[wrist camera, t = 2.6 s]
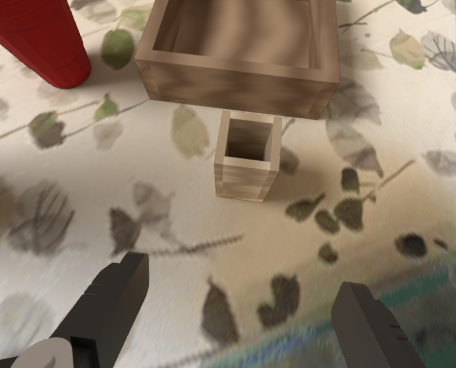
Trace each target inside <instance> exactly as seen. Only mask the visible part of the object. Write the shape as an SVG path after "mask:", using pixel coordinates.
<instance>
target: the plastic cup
mask: <svg viewBox="0 0 456 368" xmlns="http://www.w3.org/2000/svg"><path fill="white" fill-rule="evenodd" d="M0 44H1V45H2V46H3V47H4V48H5V49H7V50H8V51H9V52H10V53H11V54H13V55H14V56H15V57H16V58H17V59H19V60H20V61H21V62H22V63H23V64H25V65H26V66H27V67H28V68H30V69H32V70H33V71H34V72H35V73H37V74H38V75H39V76H40V77H41V78H43V79H44V80H45V81H46V82H48V83H49V84H51V85H52V86H54V87H58V88H72V87H74V86H77V85H80V84H81V83H82V82H84V81H85V80H86V79H87V78H88V76H89V75H90V73H91V65H90V61H89V58H88V56H87V53H86V51H85V48H84V46H83V41H82V38H81V36H80V33H79V30H78V28H77V25H76V23H75V20H74V17H73V15H72V12H71V10H70V7H69V5H68V2H67V0H0Z"/></svg>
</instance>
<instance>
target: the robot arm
mask: <svg viewBox="0 0 456 368" xmlns="http://www.w3.org/2000/svg"><path fill="white" fill-rule="evenodd" d="M148 287H149V258H148V254H145V253H138V252H131V251H129V252H127V254H126V255H125V256H124V258H123V259H122V261H121V262H120V264H119V263H111V264H110V265H108V266H107V267H106V268H104V269H103V270H101V271H100V272H99V274H98V275H97V276H96V278H95V279H94V280H93V281H92V284H91V285H89V287H88V288H87V289H86V291H85V292H84V295H82V296H81V297H80V299H79V300H78V301H77V302H76V304H75V305H74V306H73V308H72V309H71V310H70V312H69V313H68V314H67V316H66V317H65V318H64V320H63V321H62V322H61V323H60V325H59V326H58V327H57V329H56V330H55V331H54V333H53V334H52V335H51V336H50V337H49V338H48V339H45V340H42V341H40V342H37V343H36V344H34V345H32V346H31V347H29V348H28V349H26V350H25V351H24V352H23V353H22V354H21V355H20V356H16V357H12V358H7V359H2V360H0V368H113V366H114V364H115V362H116V360H117V358H118V355H119V353H120V351H121V349H122V347H123V345H124V342H125V340H126V338H127V336H128V334H129V332H130V329H131V327H132V325H133V323H134V321H135V319H136V317H137V314H138V312H139V310H140V308H141V306H142V304H143V301H144V299H145V297H146V294H147V291H148ZM331 318H332V324H333V327H334V330H335V332H336V335H337V338H338V341H339V344H340V347H341V349H342V352H343V355H344V358H345V361H346V364H347V367H348V368H426V367H425V365H424V364H423V362H422V361H421V359H420V357H419V356H418V354H417V352H416V351H415V349H414V348H413V346H412V344H411V343H410V342H408V338H407V336H406V335H405V333H404V332H403V330H402V329H400V325H399V324H398V322H397V320H396V319H395V317H394V315H393V314H392V312H391V311H390V310H389V309H388V308H387V307H385V306H384V305H383V304H382V303H381V302H380V301H379V300H375V299H374V298H373V296H372V294H371V292H370V291H369V289H368V287H367V286H366V285H365V284H359V283H352V282H343V283H342V285H341V287H340V289H339V292H338V294H337V297H336V299H335V302H334V304H333V307H332V311H331Z"/></svg>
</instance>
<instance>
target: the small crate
mask: <svg viewBox="0 0 456 368" xmlns="http://www.w3.org/2000/svg"><path fill="white" fill-rule="evenodd" d="M281 126H282V117H274V116H266V115H258V114H249V113H241V112H233V111H225V110H223V112H222V118H221V124H220V130H219V136H218V142H217V148H216V154H215V161H214V171H215V188H216V196H219V197H226V198H234V199H242V200H249V201H257V202H263V200H264V198H265V196H266V194H267V193H268V191H269V189H270V187H271V185H272V183H273V182H274V180H275V178H276V176H277V174H278V173H279V163H280V145H281Z"/></svg>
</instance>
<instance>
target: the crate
mask: <svg viewBox="0 0 456 368" xmlns="http://www.w3.org/2000/svg"><path fill="white" fill-rule="evenodd" d="M134 60H135V63H136V65H137V68H138V70H139V73H140V75H141V78H142V80H143V83H144V85H145V88H146V90H147V93H148V95H149V98H150V99H152V100H160V101H168V102H176V103H184V104H193V105H201V106H209V107H217V108H225V109H233V110H241V111H250V112H258V113H266V114H274V115H282V116H290V117H299V118H307V119H315V120H318V118H319V117H320V115H321V113H322V112H323V110H324V108H325V107H326V105H327V104H328V102H329V100H330V99H331V97H332V95H333V94H334V92H335V91H336V89H337V87H338V86H339V84H340V77H339V59H338V40H337V22H336V3H335V0H155V2H154V5H153V8H152V11H151V13H150V16H149V19H148V22H147V24H146V27H145V30H144V33H143V36H142V38H141V41H140V44H139V47H138V49H137V52H136V55H135V58H134Z"/></svg>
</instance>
